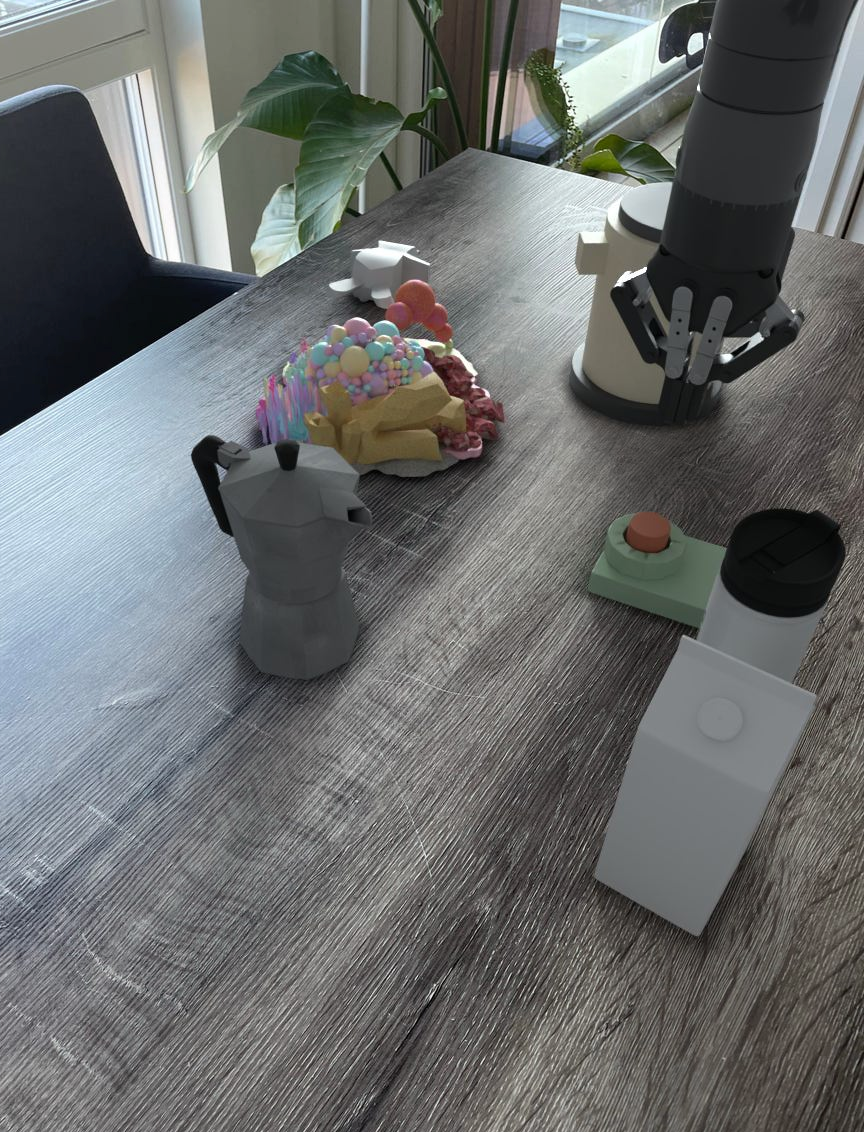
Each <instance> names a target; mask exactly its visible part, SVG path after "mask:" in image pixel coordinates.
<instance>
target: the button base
mask: <svg viewBox="0 0 864 1132" xmlns="http://www.w3.org/2000/svg"><path fill="white" fill-rule="evenodd" d="M635 514H636V513H627V514H625V515H623V516H621V517H618V518H616V519H614V520H613V521H612V522H611V524H610V525H609V528H608V529H607V531H606V536H605V539H604V544H603V545H604V546H603V550H602V553H600V556H599V557H598V559H597V561H596V563H595V565H594V566H593V569H592V571H591V573H590V576H589V582H588V586H587V592H589V593H592V594H594V595H598V596H600V597H604V598H607V599H610V600H613V601H616V602H619V603H621V604H624V605H628V606H631V607H634V608H636V609H640V610H643V611H645V612H649V613H652V614H654V615H657V616H661V617H664V618H667V619H670V620H673V621H675V622H679V623H682V624H684V625H688V626H691V627H693V628H696V629H700V626H701V622H702V619H703V616H704V613H705V610H706V607H707V604H708V601H709V598H710V595H711V592H712V589H713V586H714V583H715V580H716V577H717V575H718V571H719V567H720V565H721V563H722V561H723V559H724V557H725V552H726V549H727V547H724V546H721V545H718V544H714V543H711V542H708V541H704V540H701V539H698V538H695V537H691V536H688V535H685V534H684V532H683V530H682V528H680V527H679V526H677V525H676V524H675V523H673V522H672V521H671V520H669V519H667V520H668V521H669V523H670V525H671V530H670V534H669V538H668V541H667V545H666V547H665V548H664V550H662V551H661V552H659V553H644V552H640V551H637V550H634V549H633V548H632V547H630V546H629V545H628V543H627V541H626V535H627V531H628V527H629V523H630V519H631V518H632V517H633V516H634V515H635Z"/></svg>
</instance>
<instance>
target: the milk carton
mask: <svg viewBox="0 0 864 1132" xmlns="http://www.w3.org/2000/svg"><path fill="white" fill-rule="evenodd" d="M664 673H665V674H664V676H663V677H662V680H661V681H660V682H659V685H658V687H657V689H656V691H655V693H654V695H653V696H652V699H651V701H650V703H649V705H648V707H647V708H646V710H645V712H644V715H643V716H642V718H641V720H640V722H639V724H638V725H637V731H636V734H635V737H634V739H633V744H632V747H631V750H630V753H629V757H628V760H627V764H626V767H625V771H624V774H623V777H622V780H621V784H620V787H619V789H618V794H617V796H616V800H615V803H614V807H613V811H612V813H611V816H610V820H609V824H608V827H607V830H606V834H605V837H604V839H603V843H602V847H601V850H600V854H599V857H598V860H597V864H596V867H595V870H594V874H593V877H594V879H596V880H597V881H598V882H600V883H602V884H604V885H605V886H607V887H609V888H611V889H612V890H613V891H616V892H618V893H619V894H621V895H623V896H624V897H626V898H628V899H630V900H632V901H633V902H635V903H636V904H638V905H640V906H641V907H643V908H645V909H647V910H649V911H651V912H652V913H654V914H656V915H657V916H659V917H661V918H663V919H665V920H666V921H668V922H669V923H671V924H673V925H675V926H676V927H678V928H680V929H682V930H684V931H685V932H688V933H689V934H690V935H693V936H695V937H699V936H701V934H702V933H703V930H704V929H705V926H707V923H708V921H709V919H710V918H711V916H712V914H713V912H714V910H715V908H716V907H717V904H718V903H719V901H720V899H721V897H722V896H723V894H724V892H725V890H726V888H727V886H728V884H729V882H730V881H731V879H732V877H733V875H734V873H735V872H736V869H737V868H738V866H739V864H740V862H741V860H742V859H743V856H744V855H745V853H746V852H747V851H746V850H747V849H748V846H749V845H750V842H751V841H752V838H753V836H754V835H755V832H756V830H757V828H758V826H759V824H760V822H761V820H762V817H763V816H764V813H765V811H766V809H767V807H768V805H769V803H770V801H771V799H772V797H773V795H774V793H775V790H776V789H777V786H778V785H779V782H780V781H781V779H782V776H783V774H784V772H785V770H786V768H787V767H788V764H789V761H790V760H791V757H792V755H793V753H794V751H795V749H796V747H797V746H798V743H799V741H800V739H801V736H802V735H803V733H804V731H805V728H806V726H807V724H808V722H809V720H810V718H811V716H812V714H813V713H814V710H815V708H816V705H814V704H815V702H816V700H817V698H818V695H817V694H815V693H814V692H811V691H809V690H806V689H804V688H802V687H800V686H798V685H795V684H793V683H792V684H791V683H789V682H787V681H785V680H783V679H780V678H778V677H776V676H774V675H772V674H769V673H767V672H765V671H763V670H761V669H758V668H756V667H754V666H752V665H749V664H747V663H745V662H743V661H741V660H738V659H736V658H734V657H732V656H730V655H727V654H725V653H723V652H721V651H719V650H716V649H714V648H712V647H710V646H708V645H705V644H703V643H701V642H699V641H697V640H696V639H694V638H692V637H691V636H688V635H685V634H683V635H682V636H681V637H680V641H679V643H678V647H677V650H676V652H675V654H674V655H673V657H672V660H671V661H670V664H669V665H668V668H667V670H666V671H665V672H664Z"/></svg>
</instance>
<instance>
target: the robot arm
mask: <svg viewBox="0 0 864 1132" xmlns="http://www.w3.org/2000/svg"><path fill="white" fill-rule="evenodd" d="M859 1H860V0H716V2H715V7H714V11H713V16H712V18H711V19H712V20H711V24H710V28H709V33H708V37H707V42H706V47H705V52H704V56H703V62H702V64H701V70H700V74H699V80H698V85H697V88H696V91H695V95H694V98H693V102H692V105H691V107H690V110H689V113H688V115H687V118H686V122H685V125H684V129H683V132H682V137H681V142H680V145H679V146H678V148H677V152H676V157H675V163H674V165H675V170H674V173H673V179H672V182H673V183H672V188H671V193H670V198H669V202H668V207H667V212H666V217H665V221H664V226H663V230H662V235H661V240H660V244H659V247H658V250H657V251H656V252H655V253H654V255H653V256H652V258H651V259H650V260H649V262H648V264H647V267H646V268H644V269H642V270H640V271H637V272H635V273H634V272H631V271H627V272H625V273H624V274H623V275H622V276H621V277H620V278H619V280H618V281H617V282H616V284H615V285H614V287H613V288H612V290H611V292H610V297H611V299H612V301H613V303H614V305H615V307H616V309H617V311H618V313H619V315H620V317H621V318H622V320H623V322H624V324H625V326H626V328H627V330H628V332H629V334H630V336H631V338H632V340H633V342H634V344H635V346H636V348H637V349H638V351H639V353H640V355H641V357H642V359H643V361H644V362H646V363H648V364H654V363H656V364H657V365H659V366H660V367H661V368H662V369H663V370H664V372H665V379H664V383H663V387H662V392H661V396H660V400H659V404H658V409H659V413H661V414H664V415H665V418H664V423H668V424H672V425H674V426H675V427H679V428H682V429H683V428H685V426H686V424H687V423H686V422H687V421H690V422H689V423H694V420H695V419H696V418H697V416H698V414H699V412H700V410H701V409H702V406H703V402H704V399H705V395H706V392H707V388H708V384H709V382H711V381H718V380H720V381H721V382H722V383H723V384H731V383H733V382H734V381H736V380H737V379H739V378H741V377H742V376H744V375H745V374H746V373H748V372H750V371H751V370H753V369H754V368H756V367H758V366H759V365H761V364H762V363H764V362H766V361H767V360H768V359H770V358H771V357H773V356H774V355H776V354H777V353H779V352H780V351H782V350H784V349H785V348H786V347H788V346H789V345H791V344H792V343H794V342H795V341H796V340H797V338H798V336H799V333H800V331H801V330H802V327H803V324H804V322H805V314H804V313H803V312H802V311H801V310H800V309H791V308H790V307H789V306H788V305H787V304H786V302H785V301H784V300H783V298H782V297H781V296H780V293H781V291H782V288H783V287H782V285H783V283H782V281H781V278H780V274H779V266H780V262H781V259H782V255H783V252H784V249H785V246H786V242H787V239H788V236H789V232H790V229H791V227H792V226H793V222H794V219H795V216H796V213H797V210H798V206H799V202H800V201H801V200H800V199H801V196H802V193H803V189H804V185H805V183H806V181H807V177H808V172H809V169H810V166H811V163H812V160H813V156H814V153H815V149H816V145H817V142H818V137H819V132H820V131H819V130H820V124H821V118H822V112H823V110H824V104H825V101H826V100H825V99H826V98H827V94H828V91H829V87H830V84H831V81H832V78H833V74H834V71H835V68H836V64H837V62H838V58H839V54H840V52H841V51H840V50H841V47H842V45H843V41H844V38H845V34H846V31H847V29H848V26H849V23H850V22H851V21H850V20H851V18H852V17H853V14H854V11H855V9H856V7H857V5H858V3H859ZM651 287H652V290H653V292H654V294H655V296H656V299H657V301H658V303H659V305H660V307H661V310H662V312H663V314H664V316H665V318H666V319H667V320H668V321H669V322H670V328H669V334H668V336H667V334H666V332H665V330H664V328H663V326H662V324H661V322H660V320H659V318H658V316H657V314H656V312H655V310H654V308H653V306H652V304H651V302H650V300H649V299H650V297H651V295H652V290H651ZM764 311H765V312H766V317H764V319H763V321H762V323H761V325H760V327H759V332H758V333H757V334H755V335H754V336H752V337H751V338H748V339H746V340H745V341H743V342H742V343H740V344H739V345H738V346H735V348H732V349H731V350H730V351H729V352H728V353H725V354H723V353H722V354H720V355H718V354H719V351H720V349H721V346H722V343H723V341H724V342H725V339H726V338H725V337H727V336H730V335H733V334H735V333H736V332H737V331H739V330H740V329H741V328H743V327H744V326H745V325H747V324H748V323H749V322H751V321H752V320H753V319H755V318H756V317H757V316H759V315H760V314H761V313H763V312H764ZM696 332H698V333H700V334H702V337H701V340H700V343H699V345H698V348H697V351H696V356H695V359H694V362H693V365H692V367H690V366H689V363H690V359H691V356H692V350H693V345H694V339H695V334H696ZM723 344H724V343H723ZM722 347H723V346H722ZM695 421H696V420H695Z"/></svg>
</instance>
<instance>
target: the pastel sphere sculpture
mask: <svg viewBox="0 0 864 1132" xmlns="http://www.w3.org/2000/svg"><path fill="white" fill-rule="evenodd" d="M384 315H385V320H381V321H378V322H376V323H374V325H371V324H370V323H369V322H368V321H367V320H366V319H363V318H361V317H352V318H350V319H349V320H347V321H345V323H344V324H343V326H340V325H338V324H331V325H330V326H328V328H327V329H326V335H324V336H322V337H321V338H320V339H319V340H318V341H317V342H316V344H314V343H313V344H312V345H311V346H309V345H308V344H309V343H308V341H307V340H306V339H305V336H304V335H303V336H302V342H301V345H300V350H301V352H300V353H298V354H297V355H296V353H295V352H294V350H293V349H291V355H290V356H289V357H290V360H288V361H287V363H286V365H285V366H284V367H283V368H282V374H281V376H282V383H283V384H284V385H285V386H283V384H279V382H278V383H277V385H276V377H275V375H276V374H275V373H273V375H271V378H269V380H268V378H266V377H264V378H263V393H264V397H262V398H260V399H259V400H258V406H259V407H257V408H256V409H255V417H256V419H258V424H259V431H261V432H262V433H261V434H262V443H263V444H265V446H267V445H269V444H268V435H269V440H270V443H271V444H273V443H276V442H279V441H282V440H284V439H289V440H295V441H296V442H298V443H304V444H311V445H318V446H325V447H332V448H334V449H335V450H336V451H337V452H338V453H339V455H340V456H341V457H342V458H343V459H344V460H345V461H346V462H347V463H348V464H349V465H350V466H351V467H352V468H353V469H354V470H355V471H356V472H357V473H358V474H359V475H360V476H362V475H366V474H367V473H369V472H370V471H373V470H378V471H379V472H381V473H383V474H384V475H396V476H398V477H402V478H407V477H408V478H410V477H411V478H414V477H415V478H417V477H427V476H429V475H430V474H432V473H434V472H437V471H444V470H446V469H448V468H450V467H451V466H453V465H454V464H457V463H458V462H459V461H460V460H466V459H470V458H477V457H481V455H482V453H483V450H484V449H485V447H484V445H483V441H482V439H485V440H490V441H494V442H495V441H496V442H501V440H500V438H499V435H498V434H499V433H498V432H497V428H496V424H495V423H494V421H497V422H499V423H504V424H505V415H504V407H503V406H504V405H503V403H502V402H499V401H497V400H494V399H492V398H491V396H490V392H489V390H487V389H485V388H482V387H480V386H478V385H476V383H477V382H478V378H479V374H478V371H476V370H475V369H474V367H473V363H472V362H470V361H468V360H467V359H466V358H465V356H464V355H462V354H461V352H460V350H458V349H455V348H453V347H454V341H453V340H452V337H453V334H454V330H453V328H452V326H451V325H450V324H448V323H447V322H448V318H449V315H448V311H447V310H446V308H445V306H444V305H442V304H440V303H437V299H436V295H435V292H434V290H433V289H432V288H431V286H430V285H429V283H428V284H427V283H425V282H422V281H420V280H410V281H408V282H406V283H404V284H403V285H401V286H400V288H399V289H398V291H397V293H396V296H395V303H394V304H392V305H390V307H389V308H388V309H386V312H385V314H384ZM420 323H421V324H422V326H423V327H424V329H426V330H428V331H430V332H434V333H433V335H434V337H435V339H436V341H431V340H428V339H424V338H421V339H420V338H417V339H416V338H411V337H410V338H409V337H403V336H401V334H400V331H405V330H407V328H408V327H409V326H410V325H412V324H420ZM268 381H269V382H268ZM267 432H268V435H267Z"/></svg>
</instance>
